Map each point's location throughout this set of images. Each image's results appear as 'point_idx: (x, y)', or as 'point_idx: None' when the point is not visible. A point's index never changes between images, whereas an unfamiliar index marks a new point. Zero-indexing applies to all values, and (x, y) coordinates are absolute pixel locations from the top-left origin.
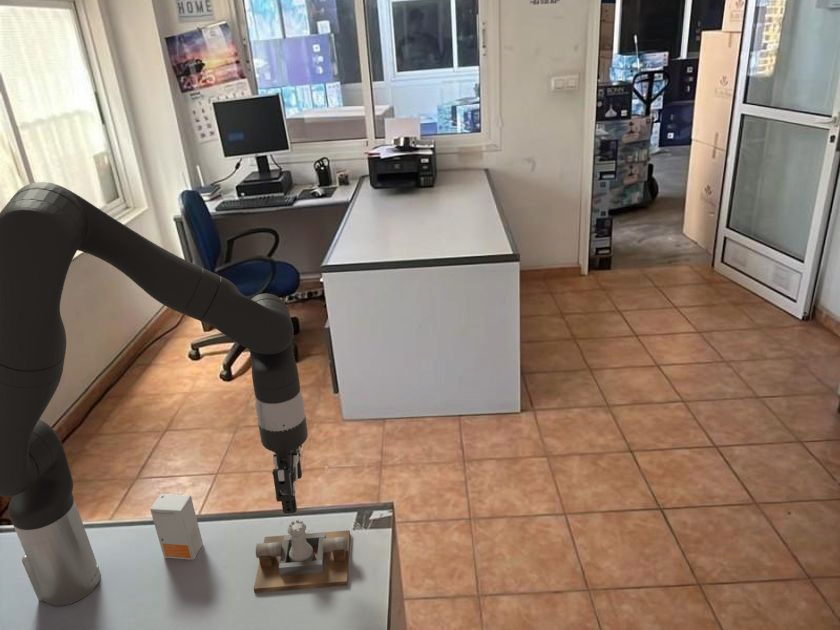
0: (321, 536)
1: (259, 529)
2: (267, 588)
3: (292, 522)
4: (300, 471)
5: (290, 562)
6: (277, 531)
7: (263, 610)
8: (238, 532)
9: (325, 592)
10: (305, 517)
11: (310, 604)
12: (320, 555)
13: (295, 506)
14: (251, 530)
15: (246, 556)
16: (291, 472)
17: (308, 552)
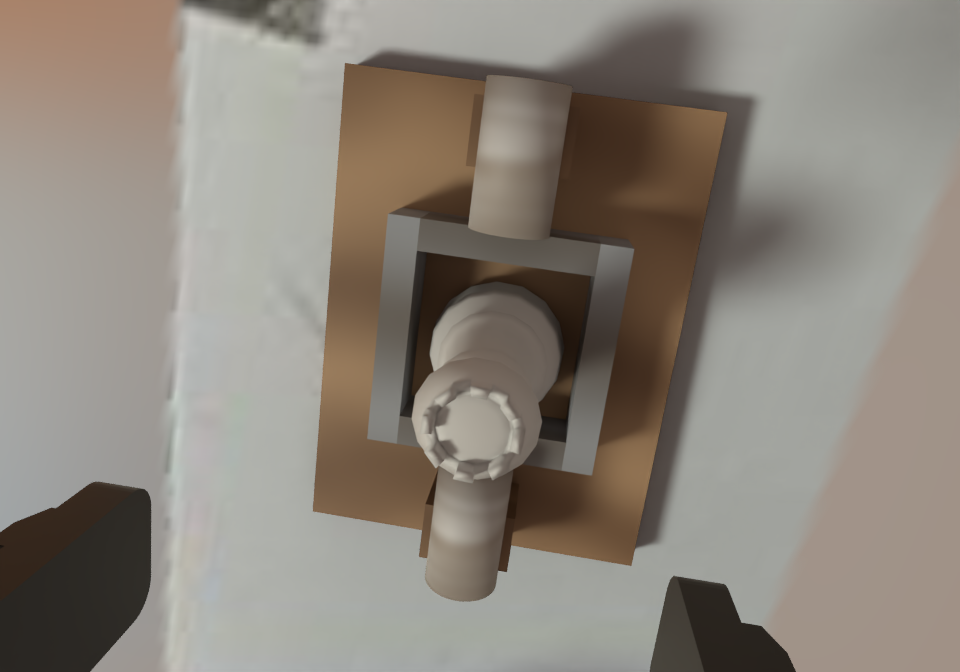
0: (412, 237)
1: (241, 522)
2: (642, 506)
3: (442, 458)
4: (87, 535)
5: None
6: (267, 443)
7: (741, 517)
8: (246, 608)
9: (729, 233)
10: (189, 305)
11: (780, 311)
12: (563, 252)
13: (739, 631)
14: (242, 555)
15: (401, 578)
16: (92, 633)
17: (524, 319)
